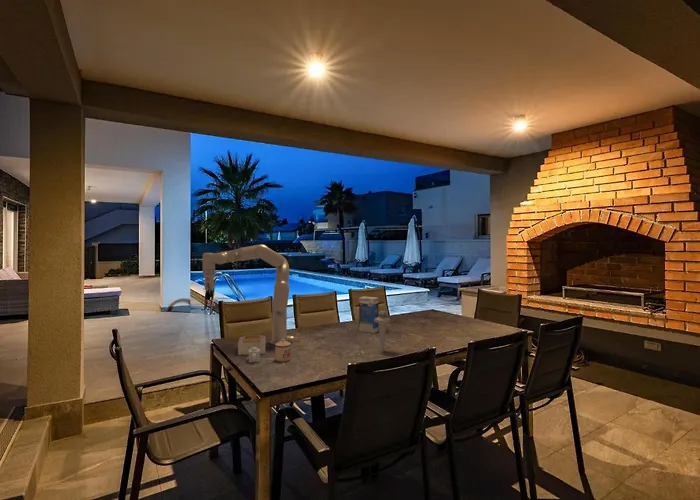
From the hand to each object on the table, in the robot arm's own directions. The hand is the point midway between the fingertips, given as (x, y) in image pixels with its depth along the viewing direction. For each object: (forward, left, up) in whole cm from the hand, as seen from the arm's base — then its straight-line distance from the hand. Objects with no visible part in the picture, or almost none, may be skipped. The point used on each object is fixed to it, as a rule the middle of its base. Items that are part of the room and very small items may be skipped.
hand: (209, 298), depth 246 cm
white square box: (-28, +16, -31) cm, 44 cm away
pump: (-30, +37, -31) cm, 57 cm away
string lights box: (-112, -19, -31) cm, 118 cm away
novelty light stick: (-107, +33, -31) cm, 116 cm away
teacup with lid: (-47, +36, -31) cm, 67 cm away
